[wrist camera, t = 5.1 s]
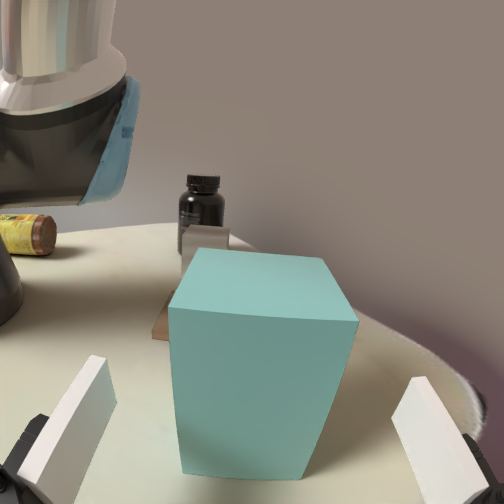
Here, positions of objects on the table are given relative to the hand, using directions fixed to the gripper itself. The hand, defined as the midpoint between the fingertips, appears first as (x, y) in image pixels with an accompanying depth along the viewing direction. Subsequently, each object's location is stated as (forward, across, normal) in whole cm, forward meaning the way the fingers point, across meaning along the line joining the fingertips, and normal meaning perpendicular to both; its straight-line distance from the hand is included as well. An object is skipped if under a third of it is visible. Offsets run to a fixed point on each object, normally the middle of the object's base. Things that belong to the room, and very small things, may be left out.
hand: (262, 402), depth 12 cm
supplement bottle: (+36, -8, -7) cm, 37 cm away
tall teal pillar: (+3, 0, -6) cm, 7 cm away
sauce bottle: (+29, -30, -3) cm, 42 cm away
